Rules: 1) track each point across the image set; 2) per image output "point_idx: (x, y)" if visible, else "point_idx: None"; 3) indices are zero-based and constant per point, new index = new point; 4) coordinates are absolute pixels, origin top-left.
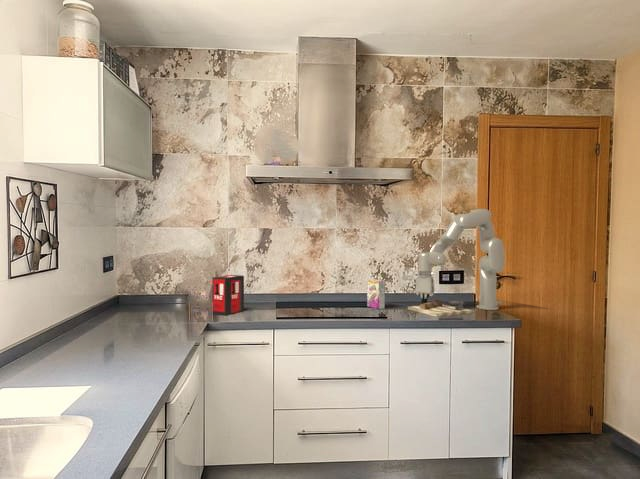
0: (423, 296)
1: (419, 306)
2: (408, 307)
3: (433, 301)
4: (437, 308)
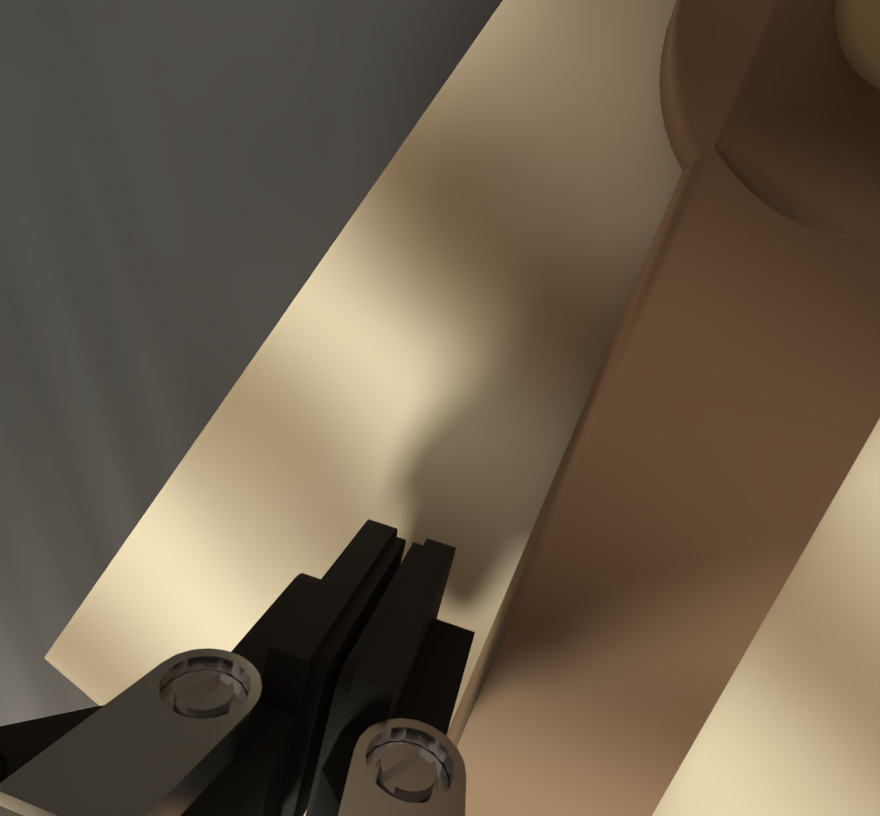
0: (207, 808)
1: (267, 514)
2: (76, 668)
3: (692, 285)
4: (845, 691)
